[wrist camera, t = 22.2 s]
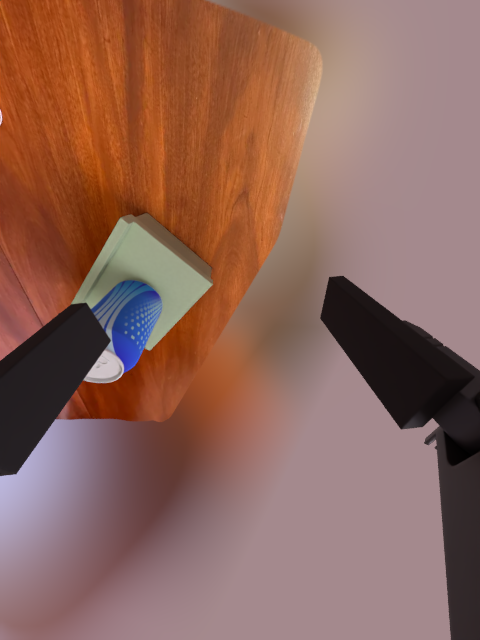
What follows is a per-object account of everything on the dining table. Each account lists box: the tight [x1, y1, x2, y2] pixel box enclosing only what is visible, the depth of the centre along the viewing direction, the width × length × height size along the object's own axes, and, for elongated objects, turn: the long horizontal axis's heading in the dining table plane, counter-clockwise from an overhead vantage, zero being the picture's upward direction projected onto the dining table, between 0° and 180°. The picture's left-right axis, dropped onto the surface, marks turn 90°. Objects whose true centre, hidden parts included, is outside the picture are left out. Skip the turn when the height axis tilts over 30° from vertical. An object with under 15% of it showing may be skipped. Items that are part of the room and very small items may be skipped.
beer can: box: [84, 280, 163, 383], centre depth 28 cm, size 8×8×16 cm
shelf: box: [71, 213, 213, 350], centre depth 37 cm, size 16×22×10 cm
